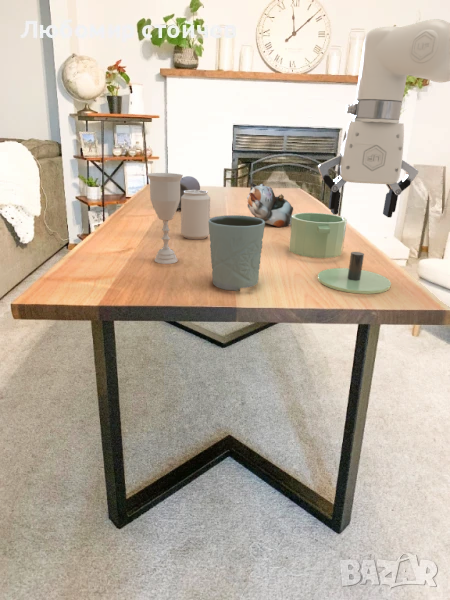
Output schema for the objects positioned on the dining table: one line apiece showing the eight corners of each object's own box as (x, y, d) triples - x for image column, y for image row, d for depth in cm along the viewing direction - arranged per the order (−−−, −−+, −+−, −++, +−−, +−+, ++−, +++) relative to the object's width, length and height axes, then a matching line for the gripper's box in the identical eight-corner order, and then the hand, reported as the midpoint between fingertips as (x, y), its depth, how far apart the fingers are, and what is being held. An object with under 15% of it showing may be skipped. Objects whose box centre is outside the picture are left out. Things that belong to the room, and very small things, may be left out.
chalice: (143, 262, 94) (140, 175, 88) (158, 254, 100) (156, 172, 94) (174, 266, 92) (173, 177, 85) (188, 258, 98) (188, 174, 91)
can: (177, 239, 114) (177, 191, 110) (185, 232, 121) (185, 188, 117) (206, 241, 113) (207, 193, 109) (211, 234, 120) (213, 189, 116)
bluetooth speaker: (177, 200, 172) (177, 174, 169) (201, 202, 172) (201, 175, 168) (164, 210, 151) (163, 180, 148) (191, 212, 150) (191, 182, 147)
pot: (334, 244, 115) (338, 211, 112) (349, 264, 98) (354, 226, 95) (285, 242, 115) (288, 209, 112) (292, 262, 98) (296, 224, 95)
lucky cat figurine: (291, 229, 130) (273, 186, 124) (254, 240, 136) (235, 200, 129) (297, 206, 142) (281, 167, 135) (263, 217, 147) (246, 180, 140)
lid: (378, 275, 92) (383, 245, 89) (399, 298, 79) (406, 265, 77) (312, 272, 92) (315, 243, 90) (323, 295, 79) (327, 262, 77)
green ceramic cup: (267, 291, 80) (272, 225, 76) (212, 293, 78) (214, 226, 74) (252, 273, 89) (256, 214, 85) (203, 275, 87) (204, 214, 83)
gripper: (329, 110, 71) (316, 216, 78) (437, 115, 71) (415, 221, 77) (321, 111, 78) (310, 208, 85) (420, 116, 78) (401, 213, 84)
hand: (360, 214), depth 81 cm, fingers open, 9 cm apart
